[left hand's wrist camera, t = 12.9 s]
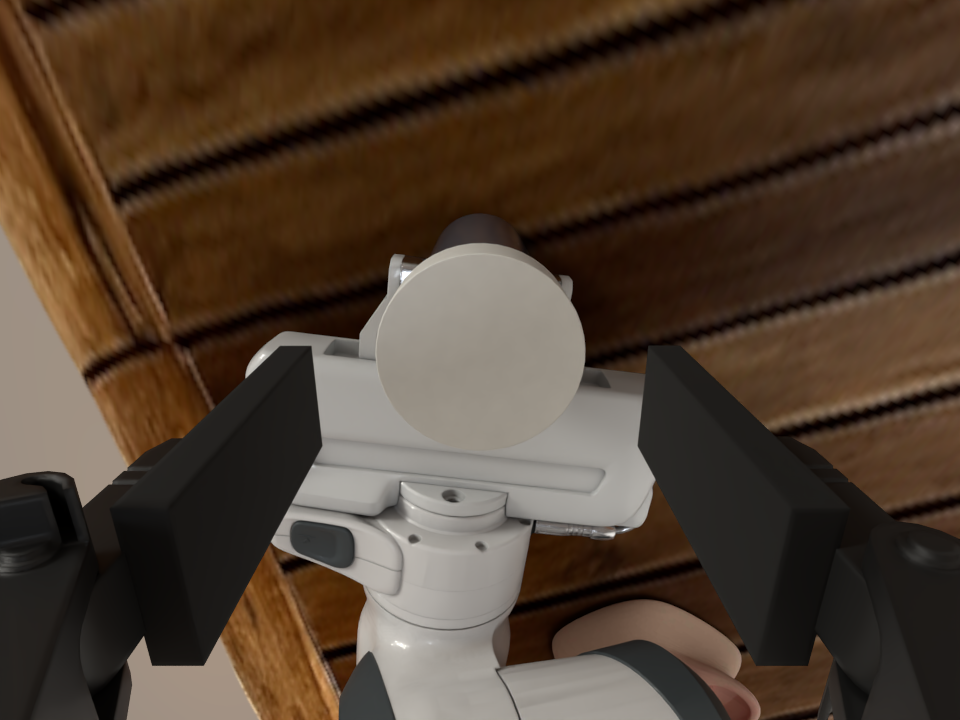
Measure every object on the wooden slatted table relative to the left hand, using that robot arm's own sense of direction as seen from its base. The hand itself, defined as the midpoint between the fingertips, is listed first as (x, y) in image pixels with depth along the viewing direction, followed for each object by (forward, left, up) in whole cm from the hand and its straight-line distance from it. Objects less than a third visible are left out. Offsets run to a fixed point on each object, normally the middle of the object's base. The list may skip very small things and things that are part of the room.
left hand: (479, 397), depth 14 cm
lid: (0, 0, -3) cm, 3 cm away
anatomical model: (-2, +32, -19) cm, 37 cm away
